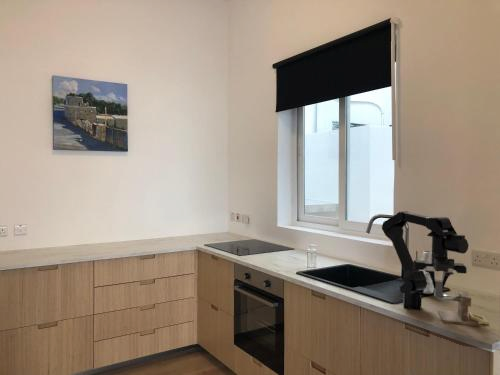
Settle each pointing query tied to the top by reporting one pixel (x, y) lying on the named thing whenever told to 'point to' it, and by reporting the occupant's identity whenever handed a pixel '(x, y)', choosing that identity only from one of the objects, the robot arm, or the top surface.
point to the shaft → (439, 292)
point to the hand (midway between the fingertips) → (438, 288)
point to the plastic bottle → (427, 259)
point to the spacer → (477, 318)
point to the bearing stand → (459, 312)
